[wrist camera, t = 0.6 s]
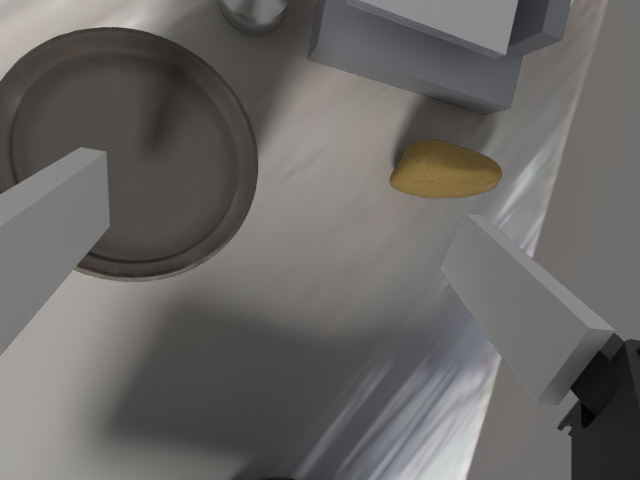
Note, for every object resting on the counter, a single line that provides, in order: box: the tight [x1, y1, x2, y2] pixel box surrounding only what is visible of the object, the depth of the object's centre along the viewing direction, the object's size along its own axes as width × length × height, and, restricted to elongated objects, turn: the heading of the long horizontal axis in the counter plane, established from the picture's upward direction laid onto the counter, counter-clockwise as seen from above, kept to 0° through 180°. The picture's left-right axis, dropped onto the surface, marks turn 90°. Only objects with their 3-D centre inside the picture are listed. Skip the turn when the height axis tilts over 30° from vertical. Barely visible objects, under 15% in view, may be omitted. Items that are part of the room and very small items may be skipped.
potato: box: [390, 140, 502, 198], centre depth 31 cm, size 7×8×8 cm
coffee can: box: [0, 27, 258, 282], centre depth 22 cm, size 10×10×14 cm
